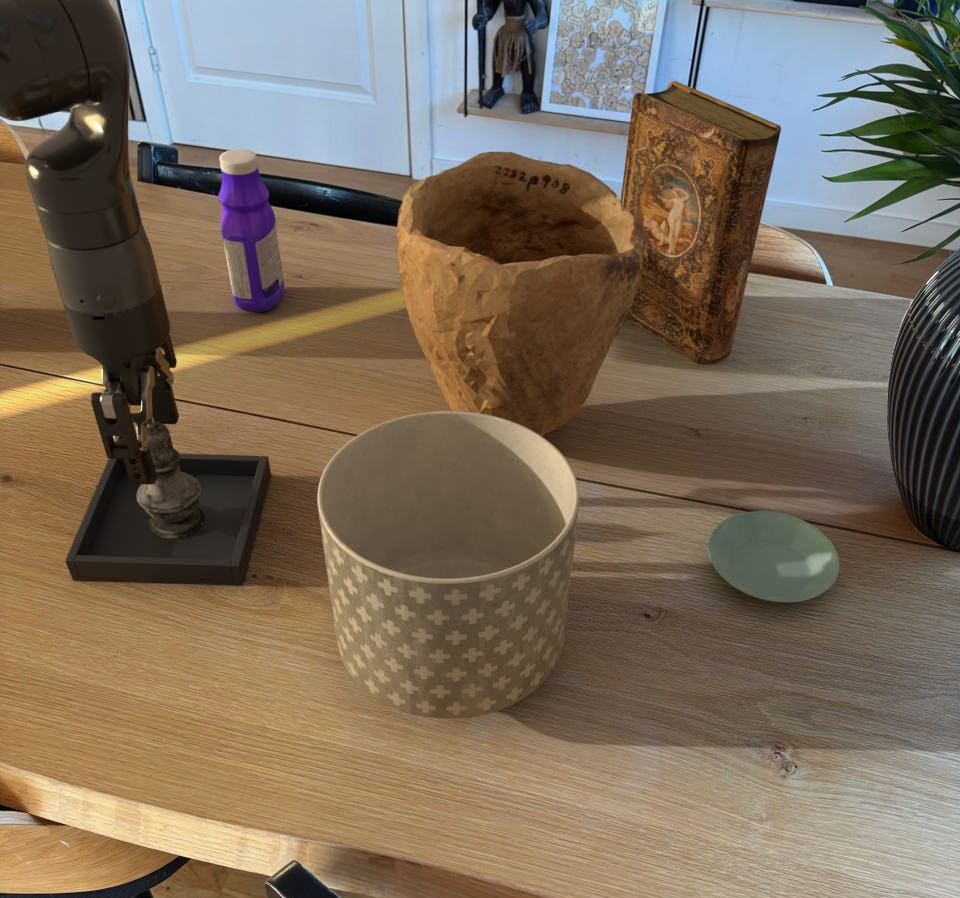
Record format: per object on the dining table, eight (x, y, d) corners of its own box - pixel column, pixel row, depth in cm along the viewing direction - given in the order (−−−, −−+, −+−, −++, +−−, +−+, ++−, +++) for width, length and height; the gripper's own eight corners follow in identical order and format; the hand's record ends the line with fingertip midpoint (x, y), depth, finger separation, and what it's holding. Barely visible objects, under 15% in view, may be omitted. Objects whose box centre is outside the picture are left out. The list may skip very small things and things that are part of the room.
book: (738, 352, 118) (790, 129, 100) (705, 368, 116) (752, 144, 97) (639, 293, 127) (670, 78, 108) (607, 307, 125) (633, 90, 106)
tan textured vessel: (633, 498, 101) (672, 261, 82) (408, 506, 100) (395, 268, 81) (600, 368, 116) (626, 143, 97) (404, 374, 115) (392, 147, 96)
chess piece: (187, 547, 95) (158, 444, 86) (133, 532, 96) (99, 428, 87) (219, 508, 98) (195, 405, 89) (166, 494, 100) (137, 391, 91)
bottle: (249, 283, 127) (224, 139, 114) (292, 288, 127) (272, 144, 114) (227, 313, 123) (200, 167, 110) (272, 318, 122) (249, 172, 109)
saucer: (836, 626, 90) (843, 608, 88) (702, 608, 91) (706, 590, 89) (829, 537, 98) (836, 519, 96) (705, 521, 99) (710, 503, 97)
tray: (72, 580, 92) (64, 560, 90) (117, 471, 103) (111, 451, 101) (243, 585, 92) (239, 565, 90) (271, 475, 103) (268, 455, 101)
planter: (584, 601, 91) (606, 437, 78) (526, 767, 79) (539, 609, 66) (387, 554, 95) (375, 391, 81) (303, 707, 83) (272, 545, 69)
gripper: (87, 237, 83) (134, 402, 96) (31, 332, 74) (92, 502, 86) (178, 240, 83) (214, 405, 95) (134, 335, 74) (180, 505, 86)
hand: (156, 451), depth 91 cm, fingers open, 8 cm apart
